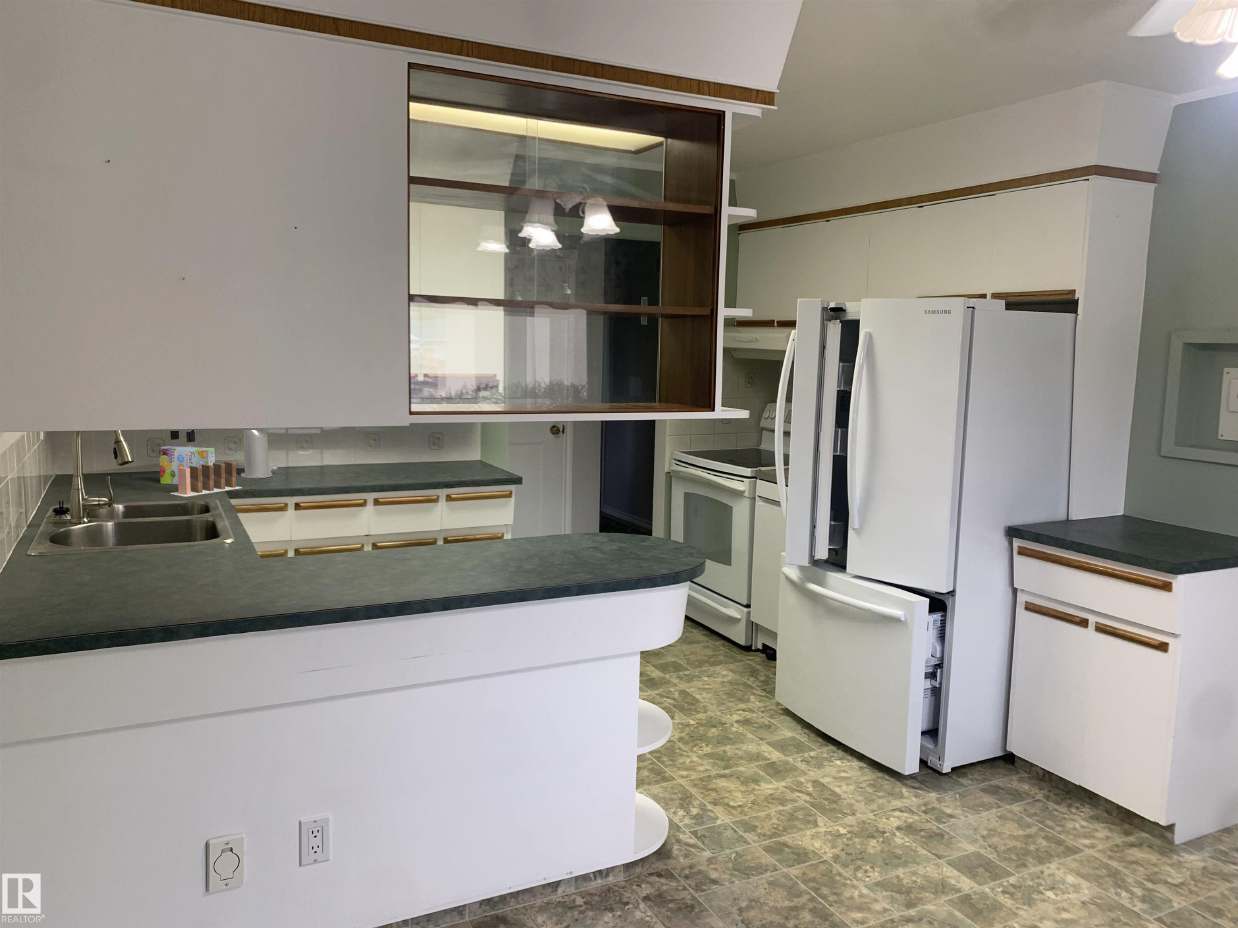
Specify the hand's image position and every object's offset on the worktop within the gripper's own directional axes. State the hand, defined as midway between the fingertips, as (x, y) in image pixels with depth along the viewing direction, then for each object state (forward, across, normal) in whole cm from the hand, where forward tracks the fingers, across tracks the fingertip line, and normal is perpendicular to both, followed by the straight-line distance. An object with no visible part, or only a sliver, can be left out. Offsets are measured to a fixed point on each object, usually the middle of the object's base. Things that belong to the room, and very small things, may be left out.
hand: (182, 440), depth 336 cm
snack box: (+21, +20, -15) cm, 33 cm away
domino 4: (+21, 0, -15) cm, 25 cm away
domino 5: (+21, 0, -20) cm, 29 cm away
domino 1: (+20, 0, 0) cm, 21 cm away
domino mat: (+21, 0, -9) cm, 23 cm away
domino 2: (+20, 0, -5) cm, 21 cm away
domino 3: (+20, 0, -10) cm, 23 cm away
